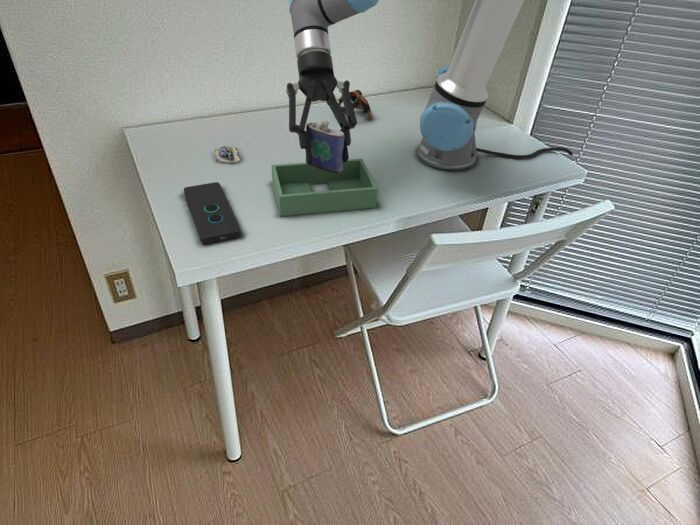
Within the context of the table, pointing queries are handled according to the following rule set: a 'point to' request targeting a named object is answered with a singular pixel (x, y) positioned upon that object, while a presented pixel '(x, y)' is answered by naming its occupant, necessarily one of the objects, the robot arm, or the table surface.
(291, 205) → the open box
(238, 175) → the table surface
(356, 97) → the brown looped sculpture
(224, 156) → the geode half
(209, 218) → the smart home device
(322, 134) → the flask
